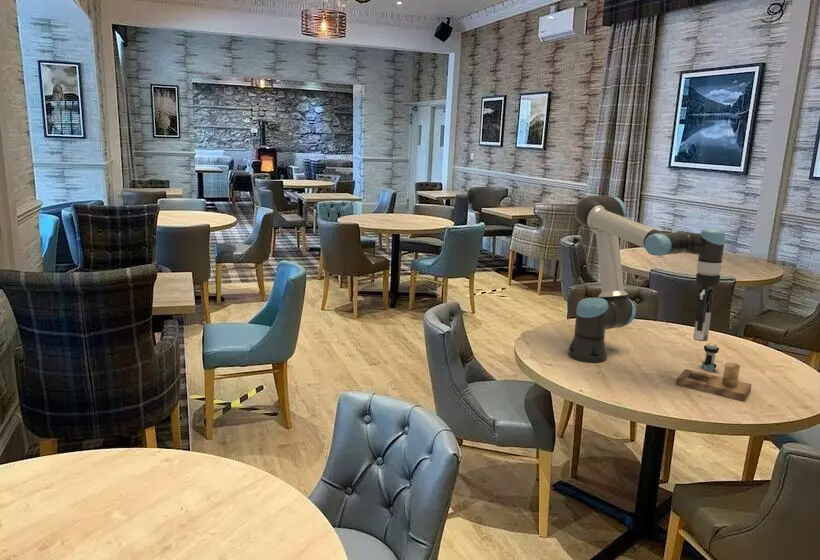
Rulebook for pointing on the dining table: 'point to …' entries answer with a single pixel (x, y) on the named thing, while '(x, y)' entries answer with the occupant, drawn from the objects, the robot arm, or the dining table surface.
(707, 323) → the tan grey cylinder
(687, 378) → the jig
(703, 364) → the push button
